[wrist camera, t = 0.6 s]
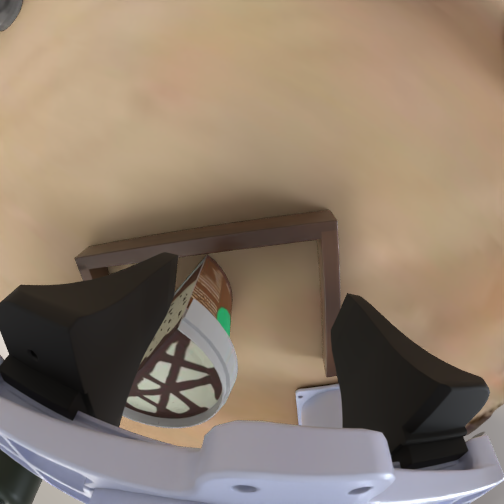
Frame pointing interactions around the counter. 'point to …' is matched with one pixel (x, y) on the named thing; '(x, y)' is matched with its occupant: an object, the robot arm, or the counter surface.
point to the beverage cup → (8, 12)
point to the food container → (188, 356)
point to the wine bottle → (16, 482)
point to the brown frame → (236, 238)
